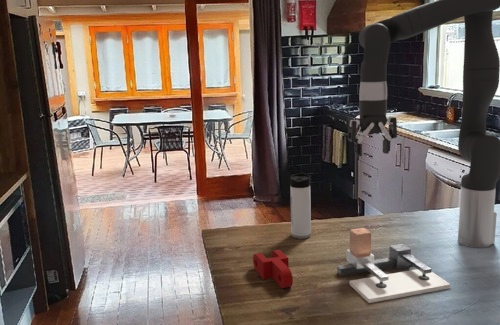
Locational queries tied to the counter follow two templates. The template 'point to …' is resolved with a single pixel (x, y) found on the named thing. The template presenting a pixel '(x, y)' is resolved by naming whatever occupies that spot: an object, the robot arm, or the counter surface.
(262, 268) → the mechanical linkage
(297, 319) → the counter surface
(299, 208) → the travel mug
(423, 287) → the bolt plate
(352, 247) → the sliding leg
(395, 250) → the gray bar frame
